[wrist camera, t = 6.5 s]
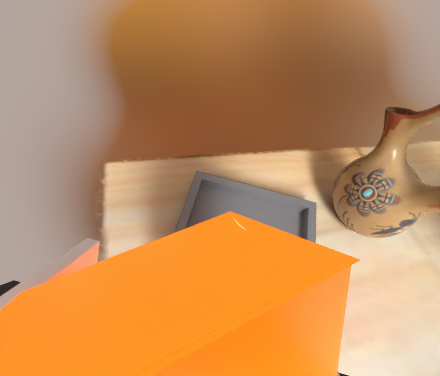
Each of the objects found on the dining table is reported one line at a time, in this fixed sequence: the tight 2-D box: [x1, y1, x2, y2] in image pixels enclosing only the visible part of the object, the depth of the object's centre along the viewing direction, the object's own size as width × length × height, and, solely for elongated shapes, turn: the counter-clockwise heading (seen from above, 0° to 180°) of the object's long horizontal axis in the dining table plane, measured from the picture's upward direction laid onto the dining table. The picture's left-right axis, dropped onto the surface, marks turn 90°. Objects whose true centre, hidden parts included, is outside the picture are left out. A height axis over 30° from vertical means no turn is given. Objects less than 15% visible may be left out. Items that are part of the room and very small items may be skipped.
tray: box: [175, 171, 316, 243], centre depth 34 cm, size 20×15×3 cm
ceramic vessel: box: [332, 104, 440, 238], centre depth 29 cm, size 16×9×25 cm, turn 13°
